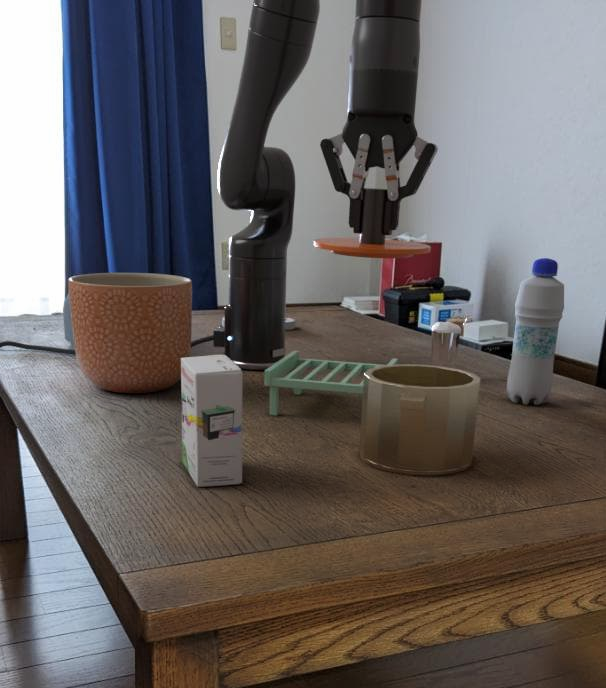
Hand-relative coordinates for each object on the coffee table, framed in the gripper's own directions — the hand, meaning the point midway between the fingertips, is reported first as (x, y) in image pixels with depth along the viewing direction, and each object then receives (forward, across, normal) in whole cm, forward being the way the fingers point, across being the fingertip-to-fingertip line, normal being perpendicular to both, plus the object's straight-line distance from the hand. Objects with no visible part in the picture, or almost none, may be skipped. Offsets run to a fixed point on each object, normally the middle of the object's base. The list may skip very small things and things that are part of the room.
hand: (372, 233), depth 105 cm
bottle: (+24, -21, -22) cm, 38 cm away
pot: (+23, -9, +12) cm, 27 cm away
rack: (+24, +5, -8) cm, 26 cm away
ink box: (+24, +11, +25) cm, 36 cm away
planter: (+24, +35, -10) cm, 44 cm away
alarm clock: (+25, +50, -38) cm, 68 cm away
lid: (+2, 0, 0) cm, 2 cm away
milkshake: (+24, -8, -32) cm, 41 cm away
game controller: (+25, +34, -67) cm, 79 cm away
